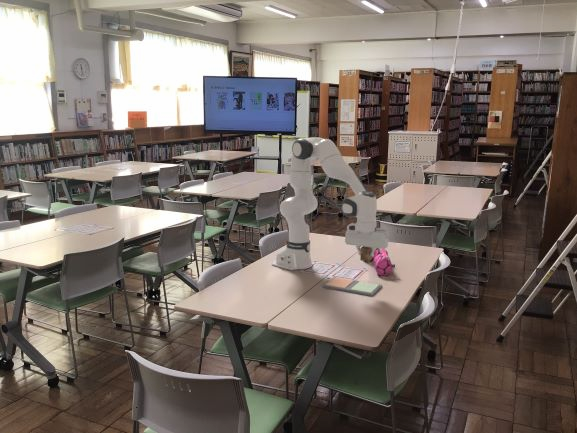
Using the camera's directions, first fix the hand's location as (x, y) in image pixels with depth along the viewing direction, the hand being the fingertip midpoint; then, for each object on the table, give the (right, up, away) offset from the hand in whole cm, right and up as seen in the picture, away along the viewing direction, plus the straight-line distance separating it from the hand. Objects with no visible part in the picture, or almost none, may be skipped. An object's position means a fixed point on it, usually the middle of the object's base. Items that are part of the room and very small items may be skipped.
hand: (366, 255), depth 227 cm
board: (-6, -16, +7) cm, 18 cm away
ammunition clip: (+11, -7, +48) cm, 50 cm away
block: (0, -2, 0) cm, 2 cm away
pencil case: (+14, -11, +32) cm, 37 cm away
